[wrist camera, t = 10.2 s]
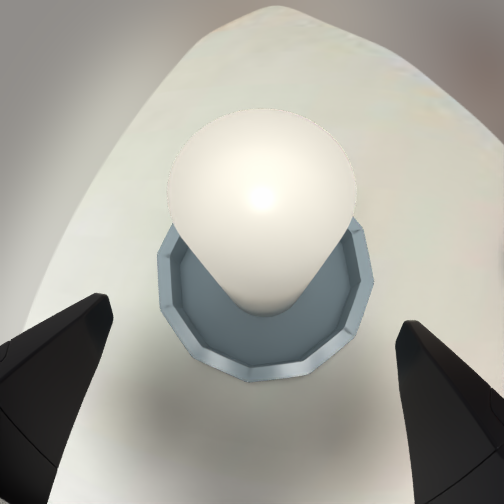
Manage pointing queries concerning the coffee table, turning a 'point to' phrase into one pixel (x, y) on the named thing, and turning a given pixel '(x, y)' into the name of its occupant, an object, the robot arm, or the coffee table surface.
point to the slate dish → (265, 328)
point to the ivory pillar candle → (262, 204)
